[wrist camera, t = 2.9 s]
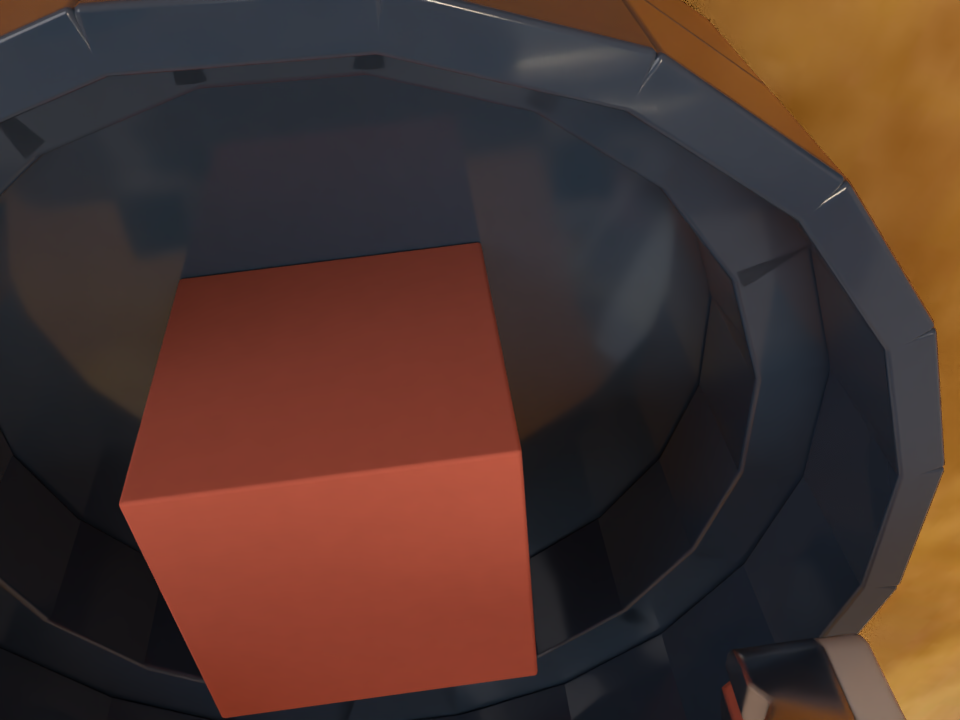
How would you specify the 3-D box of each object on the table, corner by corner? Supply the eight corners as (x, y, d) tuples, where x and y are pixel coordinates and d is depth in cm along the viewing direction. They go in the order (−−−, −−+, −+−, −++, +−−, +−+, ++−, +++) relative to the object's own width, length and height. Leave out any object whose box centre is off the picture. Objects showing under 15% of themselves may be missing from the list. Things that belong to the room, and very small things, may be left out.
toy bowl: (-93, 593, 18) (-213, 854, 15) (-238, -318, 10) (-645, -275, 6) (611, 646, 22) (664, 865, 18) (978, 25, 13) (1235, 193, 9)
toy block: (250, 486, 17) (221, 720, 13) (178, 277, 14) (115, 505, 10) (500, 454, 17) (538, 676, 13) (480, 240, 14) (522, 452, 10)
